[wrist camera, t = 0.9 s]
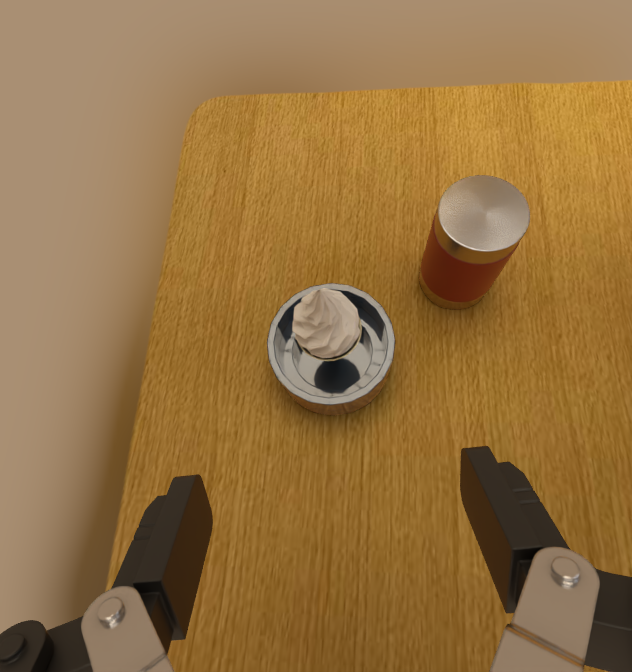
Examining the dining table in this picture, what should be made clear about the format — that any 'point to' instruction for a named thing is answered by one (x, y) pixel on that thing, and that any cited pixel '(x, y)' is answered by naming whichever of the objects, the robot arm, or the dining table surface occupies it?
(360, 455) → the dining table surface
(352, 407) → the bowl
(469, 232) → the tin can
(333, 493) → the dining table surface
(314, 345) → the ice cream cone
